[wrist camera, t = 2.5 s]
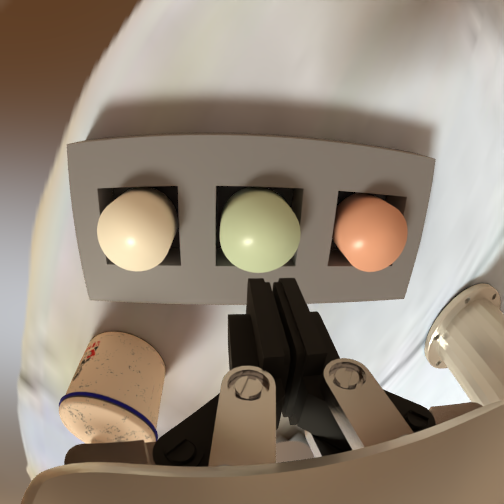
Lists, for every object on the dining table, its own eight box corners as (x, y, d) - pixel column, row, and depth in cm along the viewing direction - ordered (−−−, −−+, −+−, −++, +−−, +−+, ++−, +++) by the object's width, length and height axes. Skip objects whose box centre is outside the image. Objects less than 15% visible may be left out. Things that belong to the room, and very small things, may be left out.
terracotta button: (393, 195, 21) (413, 206, 19) (382, 254, 23) (398, 271, 21) (334, 190, 21) (350, 201, 18) (326, 253, 23) (338, 272, 20)
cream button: (176, 185, 20) (169, 196, 17) (179, 252, 22) (173, 272, 19) (109, 187, 20) (92, 198, 17) (116, 252, 22) (103, 270, 19)
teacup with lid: (87, 315, 26) (40, 408, 15) (176, 344, 28) (161, 449, 17) (86, 388, 30) (59, 466, 19) (156, 410, 32) (145, 493, 21)
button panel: (414, 153, 22) (435, 159, 19) (389, 281, 26) (404, 298, 24) (85, 140, 19) (67, 144, 17) (101, 281, 24) (89, 300, 21)
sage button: (293, 187, 21) (304, 198, 18) (287, 253, 23) (296, 272, 20) (221, 185, 20) (220, 196, 18) (220, 253, 22) (219, 272, 20)
